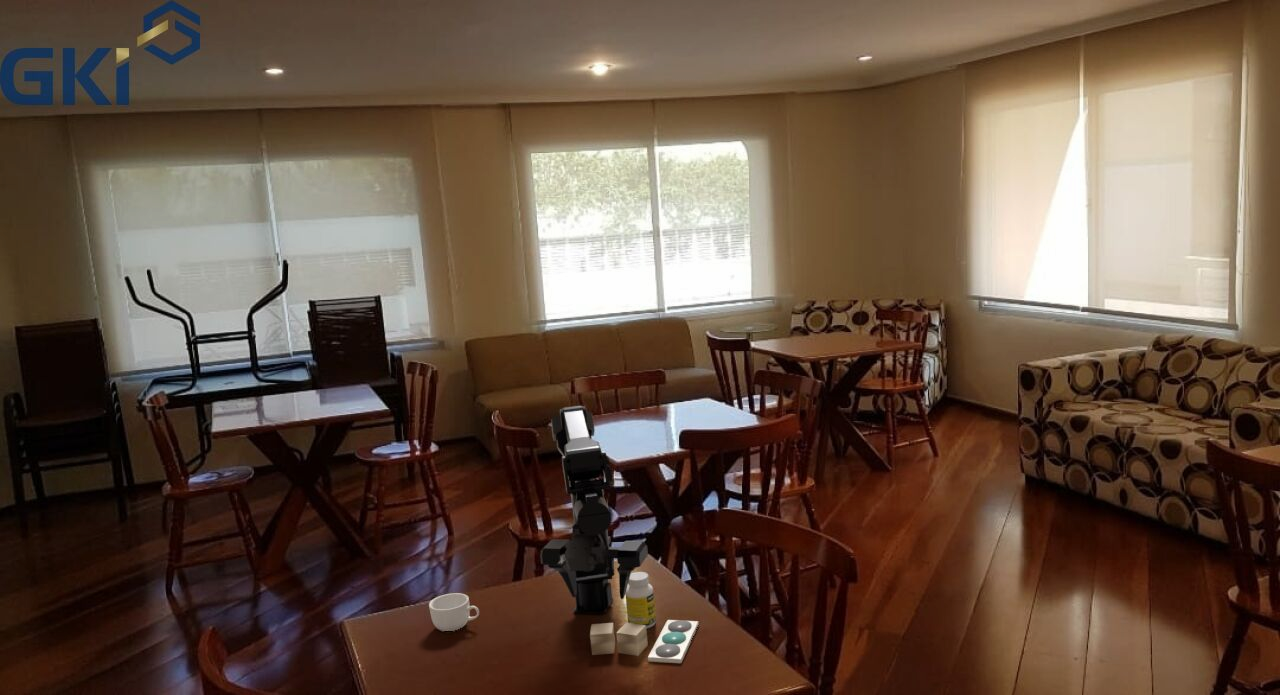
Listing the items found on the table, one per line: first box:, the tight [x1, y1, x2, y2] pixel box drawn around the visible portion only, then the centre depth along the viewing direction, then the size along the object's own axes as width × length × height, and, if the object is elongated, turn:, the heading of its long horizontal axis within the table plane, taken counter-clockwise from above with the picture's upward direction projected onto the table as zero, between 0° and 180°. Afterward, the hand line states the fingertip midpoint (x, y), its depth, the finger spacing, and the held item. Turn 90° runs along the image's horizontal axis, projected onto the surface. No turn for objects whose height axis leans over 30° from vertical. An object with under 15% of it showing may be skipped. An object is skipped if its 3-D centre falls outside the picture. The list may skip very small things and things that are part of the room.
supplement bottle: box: [625, 571, 657, 630], centre depth 173 cm, size 5×5×10 cm
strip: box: [647, 619, 699, 664], centre depth 165 cm, size 6×14×1 cm, turn 163°
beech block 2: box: [615, 621, 649, 657], centre depth 164 cm, size 4×4×4 cm
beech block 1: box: [589, 622, 616, 656], centre depth 165 cm, size 4×4×4 cm
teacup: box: [428, 592, 480, 632], centre depth 179 cm, size 10×8×5 cm
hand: (598, 597), depth 164 cm, fingers open, 9 cm apart
